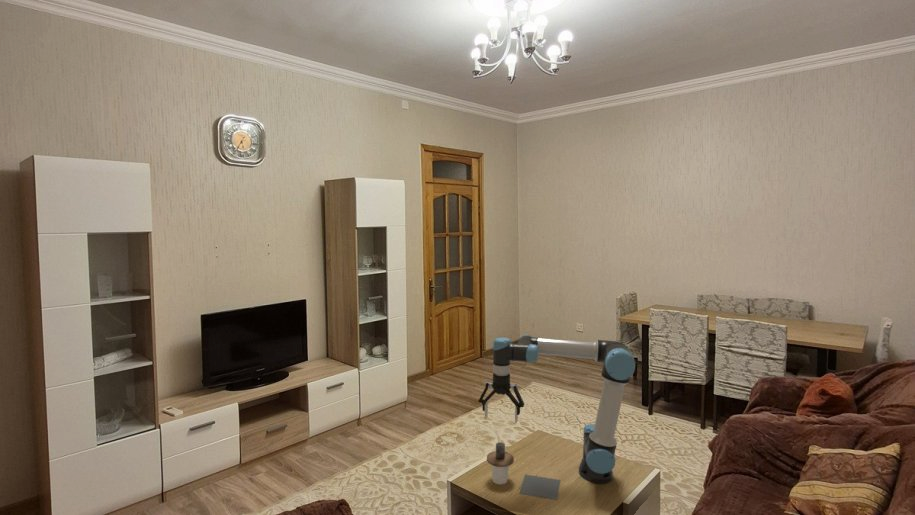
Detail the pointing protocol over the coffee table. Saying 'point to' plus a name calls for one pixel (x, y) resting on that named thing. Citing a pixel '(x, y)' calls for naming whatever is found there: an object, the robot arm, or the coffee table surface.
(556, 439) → the coffee table surface
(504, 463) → the lid
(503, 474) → the white cup
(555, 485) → the mat
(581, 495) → the coffee table surface
